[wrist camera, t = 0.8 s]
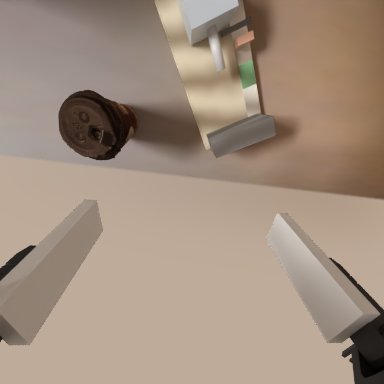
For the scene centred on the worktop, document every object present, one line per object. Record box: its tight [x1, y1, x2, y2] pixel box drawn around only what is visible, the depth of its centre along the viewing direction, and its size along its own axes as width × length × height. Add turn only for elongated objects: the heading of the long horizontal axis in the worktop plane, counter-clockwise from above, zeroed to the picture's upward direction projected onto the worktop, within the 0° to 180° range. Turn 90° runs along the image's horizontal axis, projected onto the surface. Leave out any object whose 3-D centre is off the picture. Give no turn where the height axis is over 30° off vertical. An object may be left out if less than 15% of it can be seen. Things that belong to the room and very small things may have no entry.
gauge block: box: [178, 0, 251, 73], centre depth 22 cm, size 10×9×6 cm
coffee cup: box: [59, 90, 138, 160], centre depth 26 cm, size 9×8×13 cm
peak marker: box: [234, 30, 254, 50], centre depth 24 cm, size 1×2×2 cm, turn 111°
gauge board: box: [154, 0, 276, 158], centre depth 25 cm, size 23×12×8 cm, turn 21°
